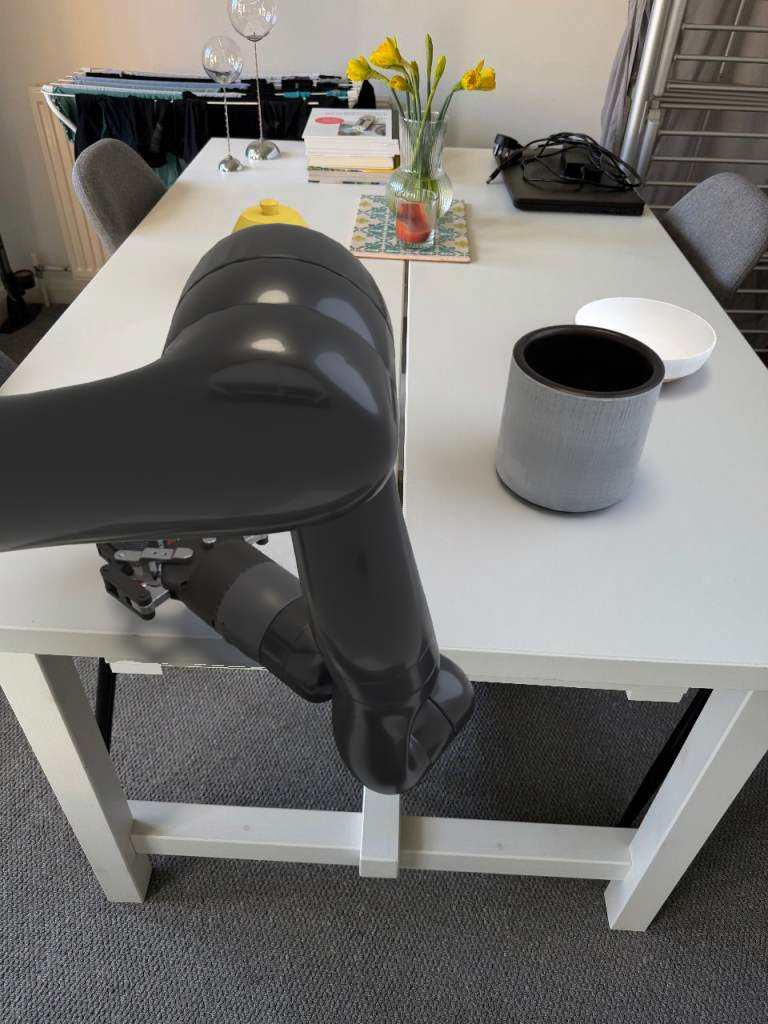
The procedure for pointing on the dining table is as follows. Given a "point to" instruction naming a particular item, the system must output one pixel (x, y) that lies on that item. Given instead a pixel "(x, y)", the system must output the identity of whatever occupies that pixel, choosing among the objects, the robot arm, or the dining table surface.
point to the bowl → (655, 330)
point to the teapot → (268, 215)
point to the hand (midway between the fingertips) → (141, 516)
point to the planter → (576, 416)
